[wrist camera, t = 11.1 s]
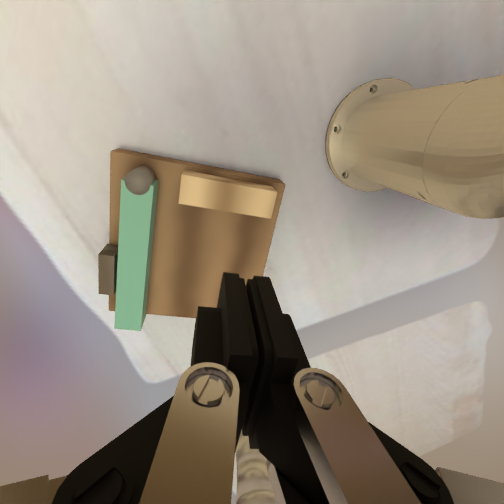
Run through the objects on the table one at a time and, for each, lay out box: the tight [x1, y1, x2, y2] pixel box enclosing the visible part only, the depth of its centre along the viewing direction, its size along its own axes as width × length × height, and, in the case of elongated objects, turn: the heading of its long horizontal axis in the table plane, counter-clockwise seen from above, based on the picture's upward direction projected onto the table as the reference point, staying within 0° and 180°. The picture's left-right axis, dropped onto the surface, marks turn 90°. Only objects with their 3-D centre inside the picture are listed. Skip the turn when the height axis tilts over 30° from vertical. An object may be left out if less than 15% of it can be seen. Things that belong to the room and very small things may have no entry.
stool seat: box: [99, 149, 285, 318], centre depth 35 cm, size 19×20×6 cm
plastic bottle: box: [235, 430, 277, 504], centre depth 44 cm, size 6×7×20 cm
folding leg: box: [115, 166, 159, 331], centre depth 32 cm, size 19×3×3 cm, turn 167°
